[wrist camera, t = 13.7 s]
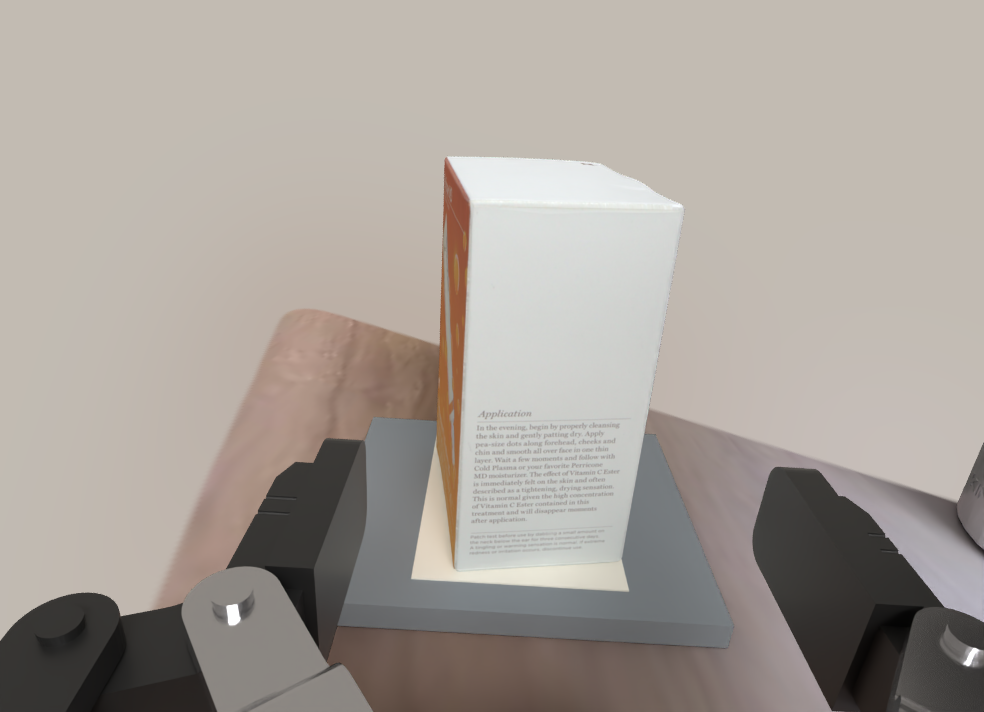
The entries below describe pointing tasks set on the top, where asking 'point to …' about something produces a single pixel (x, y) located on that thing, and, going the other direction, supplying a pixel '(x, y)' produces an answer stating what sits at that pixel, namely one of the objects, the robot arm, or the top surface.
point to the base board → (531, 590)
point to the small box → (547, 355)
